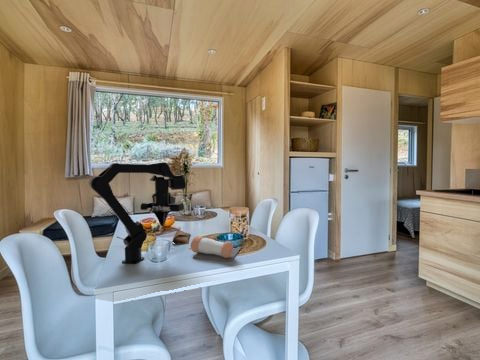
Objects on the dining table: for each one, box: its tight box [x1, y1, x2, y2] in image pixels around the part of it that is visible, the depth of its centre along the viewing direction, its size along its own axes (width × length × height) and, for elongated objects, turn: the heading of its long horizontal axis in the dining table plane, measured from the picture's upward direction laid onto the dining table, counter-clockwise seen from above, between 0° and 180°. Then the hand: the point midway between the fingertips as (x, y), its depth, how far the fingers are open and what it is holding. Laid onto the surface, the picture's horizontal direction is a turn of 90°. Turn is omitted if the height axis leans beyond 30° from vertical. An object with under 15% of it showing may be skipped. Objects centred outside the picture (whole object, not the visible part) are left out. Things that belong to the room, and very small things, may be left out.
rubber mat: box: [193, 246, 243, 262], centre depth 118 cm, size 18×17×1 cm
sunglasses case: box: [172, 229, 192, 246], centre depth 139 cm, size 18×7×7 cm
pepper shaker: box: [190, 235, 234, 258], centre depth 113 cm, size 7×7×19 cm
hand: (162, 225), depth 115 cm, fingers closed
